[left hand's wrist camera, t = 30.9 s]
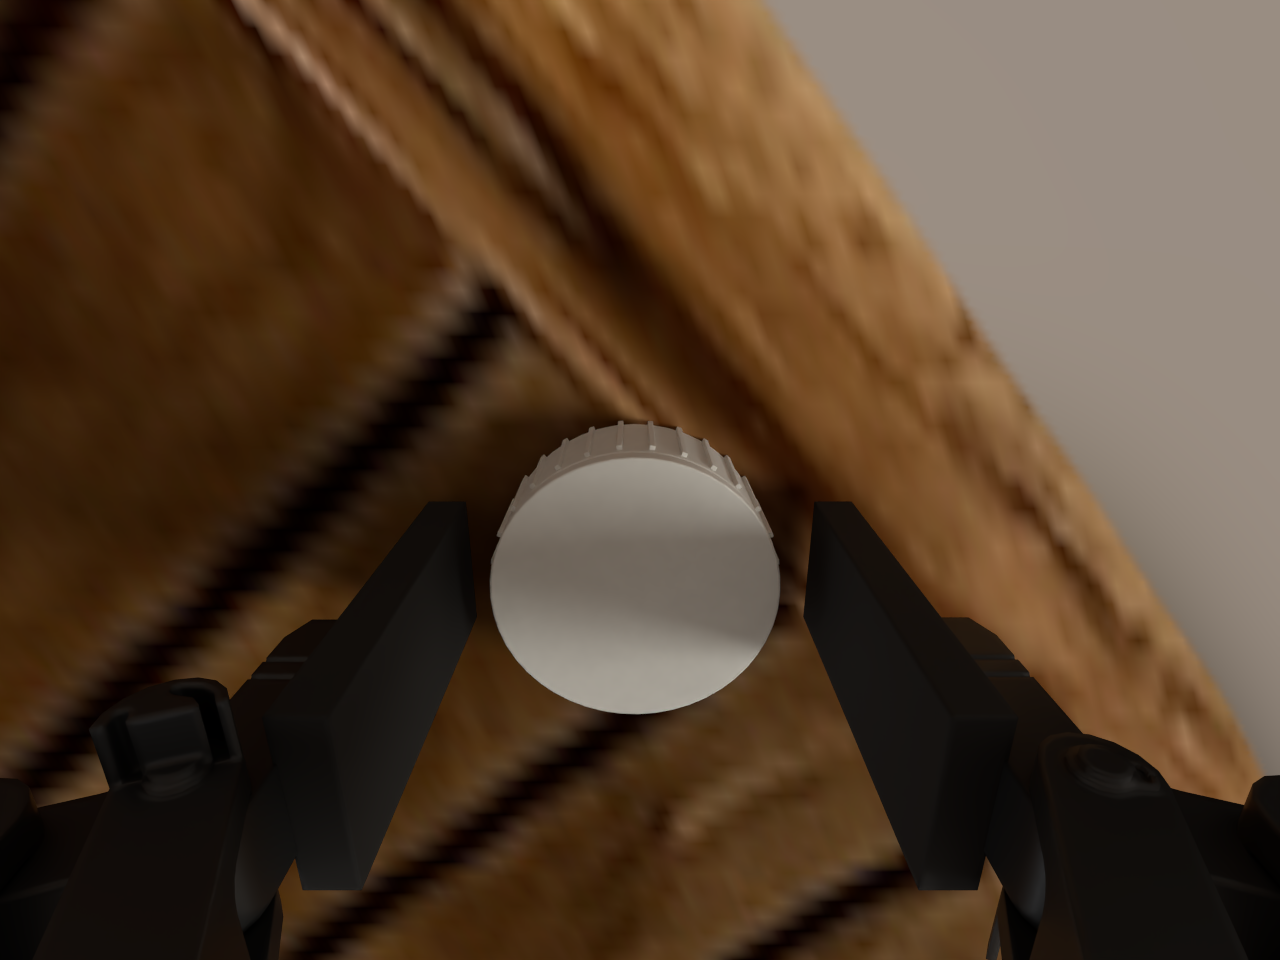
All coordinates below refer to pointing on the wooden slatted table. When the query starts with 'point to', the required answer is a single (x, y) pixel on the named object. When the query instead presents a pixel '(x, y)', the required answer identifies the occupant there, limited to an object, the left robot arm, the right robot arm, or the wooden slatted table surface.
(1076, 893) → the left robot arm
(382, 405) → the wooden slatted table surface
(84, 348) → the wooden slatted table surface
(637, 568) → the lid
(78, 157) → the wooden slatted table surface
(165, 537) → the wooden slatted table surface
